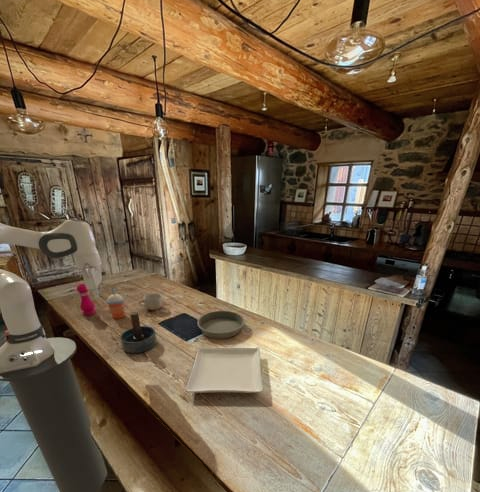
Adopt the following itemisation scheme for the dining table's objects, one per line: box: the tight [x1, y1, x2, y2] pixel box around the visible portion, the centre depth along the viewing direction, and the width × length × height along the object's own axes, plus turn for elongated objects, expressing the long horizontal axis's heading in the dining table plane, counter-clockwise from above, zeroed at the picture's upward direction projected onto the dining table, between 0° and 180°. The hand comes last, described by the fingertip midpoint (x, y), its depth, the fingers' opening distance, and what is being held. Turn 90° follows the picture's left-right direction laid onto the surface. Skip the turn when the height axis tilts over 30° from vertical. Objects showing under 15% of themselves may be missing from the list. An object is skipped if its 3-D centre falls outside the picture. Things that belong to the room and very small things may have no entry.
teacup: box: [138, 292, 163, 311], centre depth 161 cm, size 14×11×8 cm
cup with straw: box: [105, 286, 125, 320], centre depth 150 cm, size 9×9×18 cm
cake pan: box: [196, 310, 246, 339], centre depth 139 cm, size 25×25×4 cm
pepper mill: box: [76, 281, 96, 317], centre depth 154 cm, size 7×7×20 cm
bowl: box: [119, 325, 157, 354], centre depth 124 cm, size 15×15×6 cm
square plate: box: [185, 347, 264, 394], centre depth 105 cm, size 27×27×4 cm
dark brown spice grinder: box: [129, 311, 144, 342], centre depth 122 cm, size 5×5×16 cm
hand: (98, 295), depth 109 cm, fingers open, 8 cm apart
